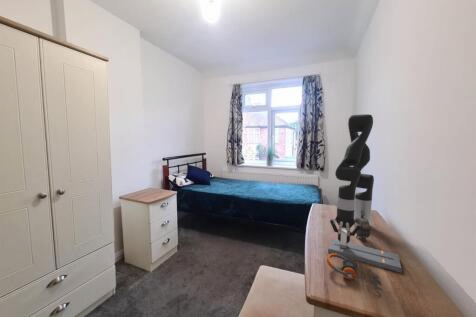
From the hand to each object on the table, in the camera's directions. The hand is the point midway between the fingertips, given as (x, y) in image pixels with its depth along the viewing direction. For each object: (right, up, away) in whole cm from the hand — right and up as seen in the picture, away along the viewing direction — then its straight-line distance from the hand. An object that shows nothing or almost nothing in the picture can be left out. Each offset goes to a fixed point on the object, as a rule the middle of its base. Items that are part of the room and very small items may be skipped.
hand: (343, 241), depth 101 cm
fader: (0, -2, 0) cm, 2 cm away
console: (+7, -5, -4) cm, 9 cm away
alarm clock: (+16, -4, +14) cm, 22 cm away
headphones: (-6, -7, -19) cm, 21 cm away
